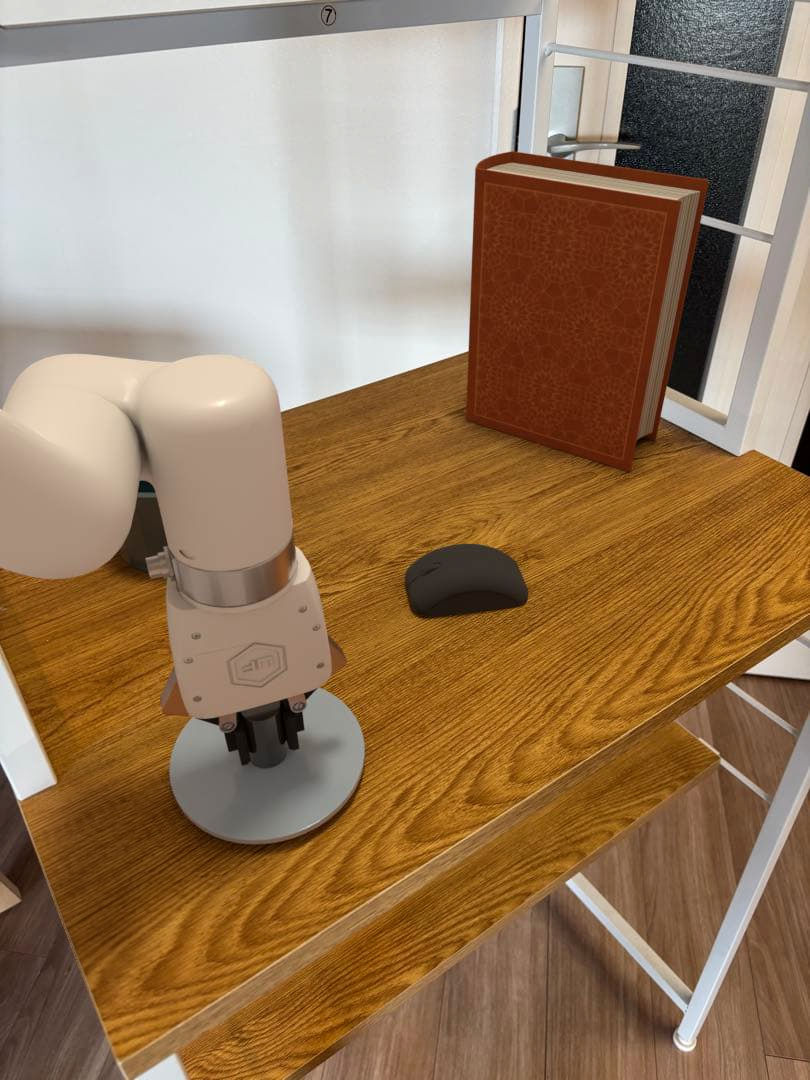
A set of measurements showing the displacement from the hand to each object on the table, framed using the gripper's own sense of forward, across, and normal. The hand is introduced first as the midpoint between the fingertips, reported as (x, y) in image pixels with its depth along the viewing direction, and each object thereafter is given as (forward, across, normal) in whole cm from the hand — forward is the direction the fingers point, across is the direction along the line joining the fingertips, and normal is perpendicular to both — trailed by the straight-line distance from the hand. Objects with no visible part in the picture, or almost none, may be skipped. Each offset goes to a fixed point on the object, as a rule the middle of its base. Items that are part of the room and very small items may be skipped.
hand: (266, 741), depth 63 cm
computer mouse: (+3, +22, +13) cm, 26 cm away
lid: (+2, 0, 0) cm, 2 cm away
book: (+3, +45, +36) cm, 58 cm away
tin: (+3, -2, +32) cm, 32 cm away
